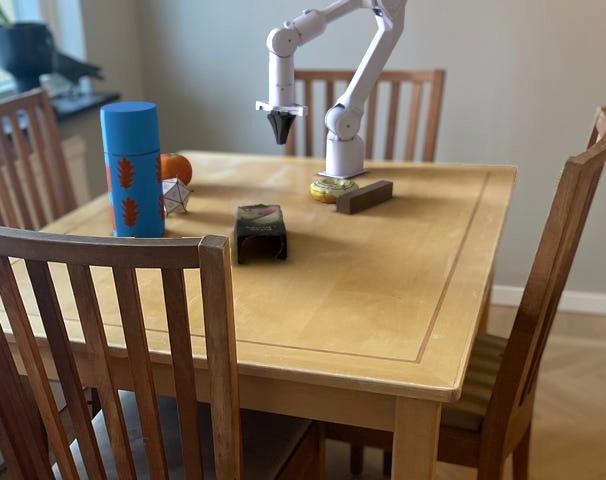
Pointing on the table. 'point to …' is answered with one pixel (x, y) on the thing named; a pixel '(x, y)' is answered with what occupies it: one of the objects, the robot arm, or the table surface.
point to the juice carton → (259, 226)
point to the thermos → (134, 169)
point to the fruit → (176, 167)
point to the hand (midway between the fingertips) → (281, 143)
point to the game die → (175, 195)
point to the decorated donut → (331, 188)
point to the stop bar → (364, 197)
